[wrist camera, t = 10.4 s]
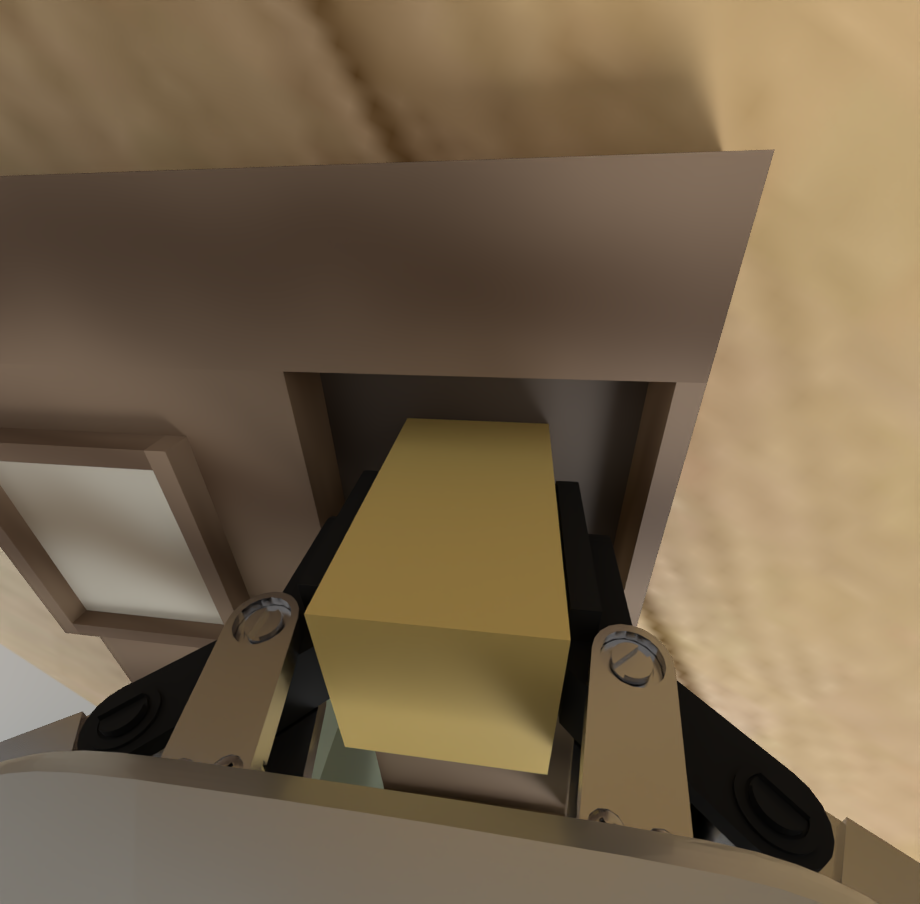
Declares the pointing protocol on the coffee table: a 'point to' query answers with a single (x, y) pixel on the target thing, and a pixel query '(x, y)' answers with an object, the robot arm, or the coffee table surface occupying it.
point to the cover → (343, 757)
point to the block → (450, 600)
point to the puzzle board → (341, 370)
